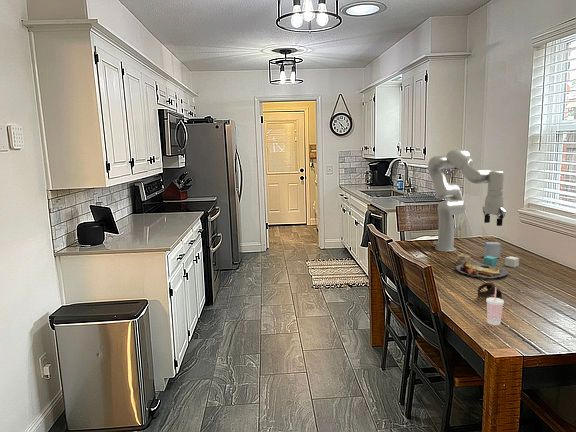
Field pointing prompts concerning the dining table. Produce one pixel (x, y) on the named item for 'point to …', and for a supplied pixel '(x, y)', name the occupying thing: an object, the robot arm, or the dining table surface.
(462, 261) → the maple block
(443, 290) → the dining table surface
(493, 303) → the beverage cup
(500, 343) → the dining table surface
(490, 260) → the teal block
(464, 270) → the food plate
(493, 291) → the pottery mug
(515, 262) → the white block
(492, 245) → the medicine box
